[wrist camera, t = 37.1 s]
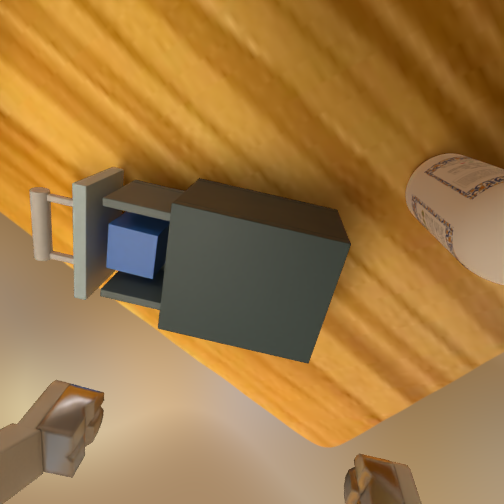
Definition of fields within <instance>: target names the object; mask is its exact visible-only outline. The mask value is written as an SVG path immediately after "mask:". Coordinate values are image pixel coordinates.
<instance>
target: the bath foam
mask: <svg viewBox="0 0 504 504" xmlns="http://www.w3.org/2000/svg"><path fill="white" fill-rule="evenodd" d="M406 203H407V206H408V208H409V210H410V212H411V213H412V214H413V215H414V216H415V218H416V219H417V220H418V221H419V222H420V223H421V224H422V225H423V226H424V227H425V228H426V229H427V230H428V231H429V232H430V233H431V234H432V235H433V236H434V237H435V238H436V239H437V240H438V241H439V242H440V243H441V244H442V245H443V246H444V247H445V248H446V249H447V250H448V251H449V252H450V253H451V254H452V255H453V256H454V257H455V258H456V259H457V260H458V261H459V262H460V263H461V264H462V265H464V266H465V267H466V268H467V269H469V270H470V271H472V272H473V273H475V274H477V275H478V276H480V277H482V278H484V279H486V280H489V281H491V282H494V283H498V284H501V285H504V169H501V168H498V167H496V166H493V165H490V164H487V163H484V162H481V161H479V160H476V159H473V158H469V157H466V156H463V155H460V154H453V153H449V154H442V155H438V156H435V157H433V158H430V159H429V160H427V161H425V162H424V163H423V164H421V165H420V166H419V167H418V168H417V169H416V170H415V171H414V173H413V174H412V176H411V177H410V179H409V181H408V184H407V187H406Z"/></svg>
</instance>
